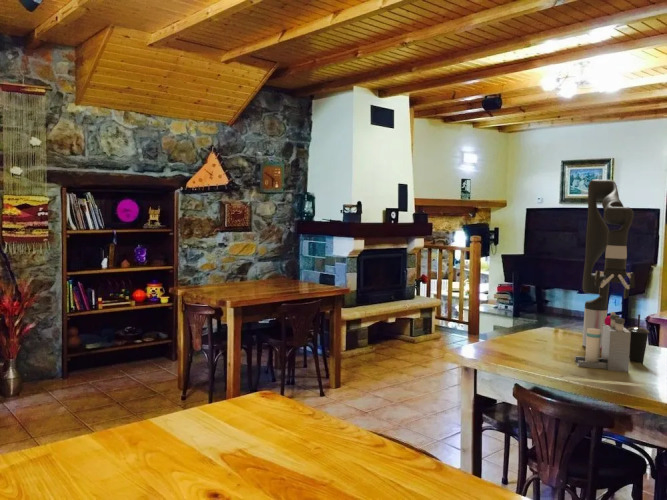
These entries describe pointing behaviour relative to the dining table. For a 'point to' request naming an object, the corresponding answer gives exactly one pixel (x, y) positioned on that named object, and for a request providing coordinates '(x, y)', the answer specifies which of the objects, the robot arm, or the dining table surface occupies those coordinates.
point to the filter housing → (611, 351)
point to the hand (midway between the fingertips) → (613, 297)
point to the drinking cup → (638, 343)
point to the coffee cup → (593, 344)
